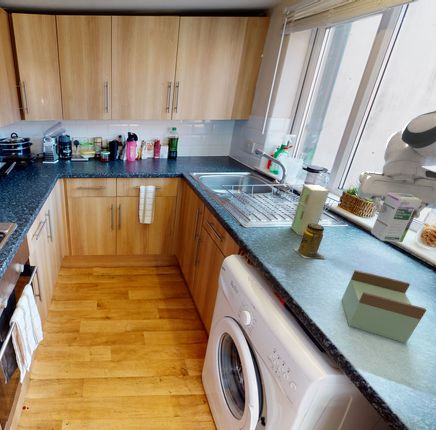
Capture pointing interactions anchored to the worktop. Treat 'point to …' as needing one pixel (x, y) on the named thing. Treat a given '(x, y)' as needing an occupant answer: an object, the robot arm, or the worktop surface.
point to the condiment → (311, 241)
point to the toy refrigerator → (309, 207)
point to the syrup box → (396, 216)
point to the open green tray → (380, 306)
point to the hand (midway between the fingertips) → (397, 214)
